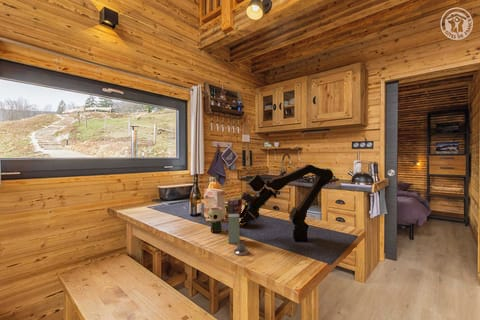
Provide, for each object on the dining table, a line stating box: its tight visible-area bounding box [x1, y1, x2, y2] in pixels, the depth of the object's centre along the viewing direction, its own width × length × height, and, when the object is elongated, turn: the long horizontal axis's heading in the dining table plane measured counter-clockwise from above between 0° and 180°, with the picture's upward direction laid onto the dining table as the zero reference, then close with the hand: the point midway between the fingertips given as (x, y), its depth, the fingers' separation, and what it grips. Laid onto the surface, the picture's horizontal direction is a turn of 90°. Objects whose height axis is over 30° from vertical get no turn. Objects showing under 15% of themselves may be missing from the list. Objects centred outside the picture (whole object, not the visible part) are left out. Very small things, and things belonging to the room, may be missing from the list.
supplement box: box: [227, 197, 243, 226], centre depth 136 cm, size 9×5×16 cm, turn 143°
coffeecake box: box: [203, 187, 226, 218], centre depth 152 cm, size 15×7×20 cm, turn 45°
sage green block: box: [227, 213, 241, 245], centre depth 111 cm, size 5×5×13 cm
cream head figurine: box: [208, 207, 225, 234], centre depth 125 cm, size 11×7×13 cm, turn 61°
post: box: [233, 240, 249, 256], centre depth 99 cm, size 6×6×4 cm
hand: (239, 220), depth 111 cm, fingers open, 9 cm apart
